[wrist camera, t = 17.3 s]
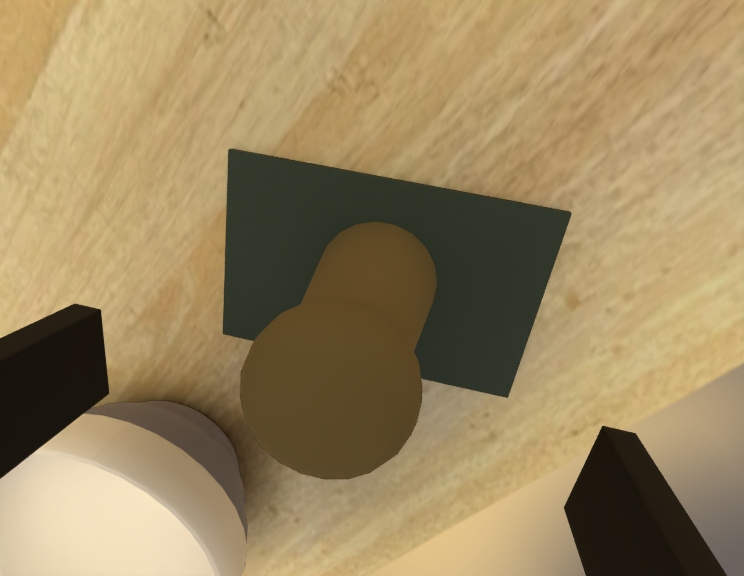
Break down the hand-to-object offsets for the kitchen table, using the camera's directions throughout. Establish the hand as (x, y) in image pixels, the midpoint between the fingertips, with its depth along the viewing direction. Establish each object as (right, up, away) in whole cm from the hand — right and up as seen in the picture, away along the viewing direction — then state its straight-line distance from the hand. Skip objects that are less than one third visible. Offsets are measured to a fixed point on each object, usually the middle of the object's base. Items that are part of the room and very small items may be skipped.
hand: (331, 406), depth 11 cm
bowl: (-12, -8, +17) cm, 22 cm away
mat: (+1, +4, +10) cm, 11 cm away
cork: (+1, +4, +10) cm, 11 cm away
